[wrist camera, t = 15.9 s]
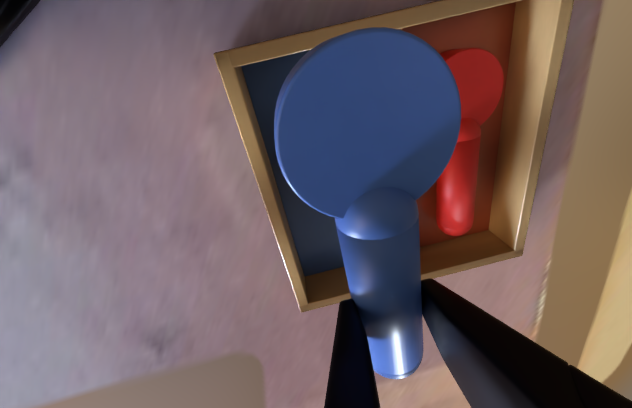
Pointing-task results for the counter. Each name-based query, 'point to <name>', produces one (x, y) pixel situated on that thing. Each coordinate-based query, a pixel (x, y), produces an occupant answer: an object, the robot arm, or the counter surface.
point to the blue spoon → (372, 168)
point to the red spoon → (467, 135)
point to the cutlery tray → (491, 190)
